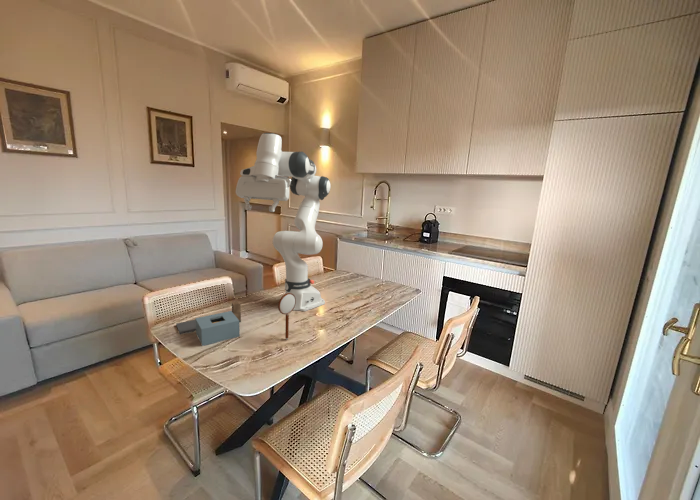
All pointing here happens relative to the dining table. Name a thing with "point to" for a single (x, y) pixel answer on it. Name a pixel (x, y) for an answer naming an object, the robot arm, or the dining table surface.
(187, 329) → the pad
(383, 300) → the dining table surface
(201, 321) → the box
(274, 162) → the robot arm
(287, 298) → the magnifying glass
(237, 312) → the upright wooden post
